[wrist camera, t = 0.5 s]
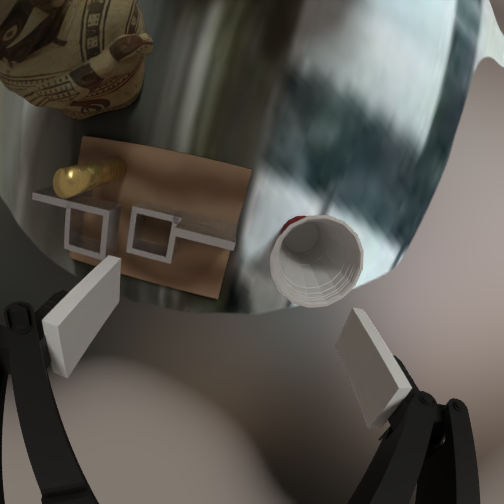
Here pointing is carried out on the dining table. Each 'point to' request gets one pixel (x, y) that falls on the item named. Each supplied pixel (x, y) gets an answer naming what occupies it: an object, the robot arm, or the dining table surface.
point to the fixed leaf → (177, 231)
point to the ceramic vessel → (74, 53)
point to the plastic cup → (316, 260)
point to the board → (171, 195)
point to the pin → (87, 176)
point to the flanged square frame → (75, 221)
